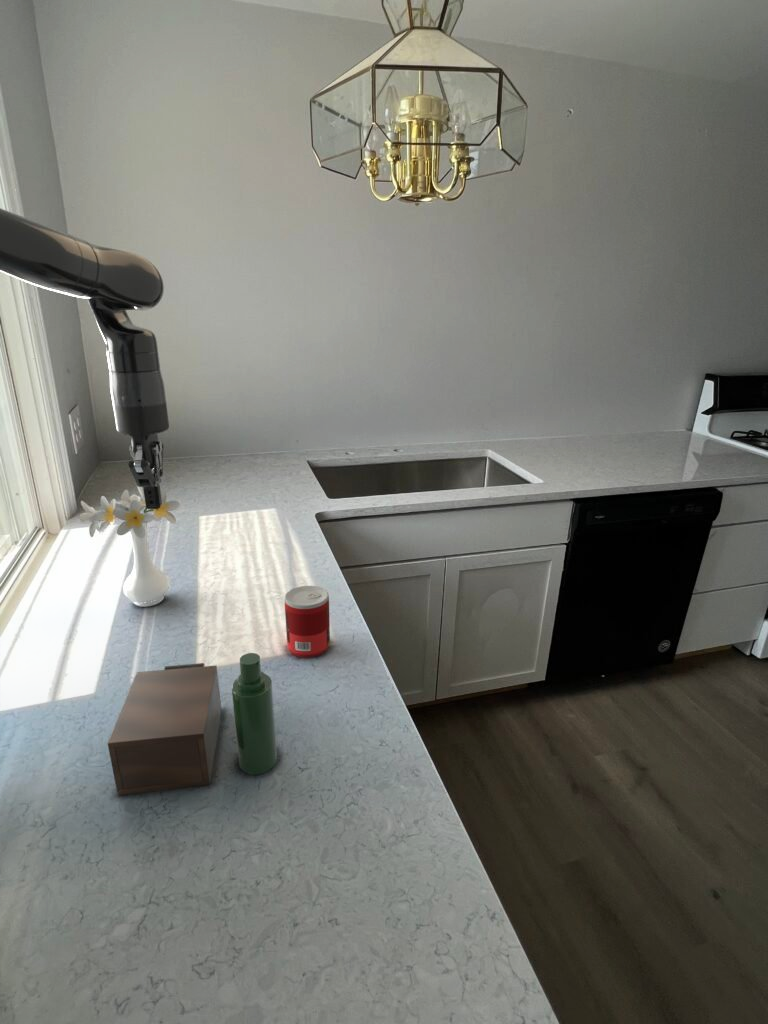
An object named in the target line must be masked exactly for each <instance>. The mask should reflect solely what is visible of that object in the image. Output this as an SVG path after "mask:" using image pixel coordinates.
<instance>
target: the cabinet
mask: <svg viewBox="0 0 768 1024" xmlns="http://www.w3.org/2000/svg"><path fill="white" fill-rule="evenodd" d="M135 672H136V671H135ZM218 673H219V672H218V666H217V665H207V666H204V667H192V668H180V669H168V670H164V669H159V670H146V671H137V672H136V673H135V674H134V678H133V680H132V682H131V685H130V687H129V689H128V692H127V695H126V697H125V700H124V702H123V704H122V707H121V709H120V712H119V714H118V716H117V719H116V722H115V724H114V726H113V729H112V731H111V734H110V736H109V738H108V741H107V748H108V753H109V758H110V763H111V767H112V773H113V779H114V782H115V787H116V792H117V796H125V795H132V794H134V795H135V794H141V793H150V792H159V791H168V790H176V789H183V788H185V789H186V788H193V787H201V786H209V785H211V781H212V773H213V768H214V761H215V755H216V748H217V743H218V737H219V736H218V735H219V731H220V723H221V719H222V718H221V717H222V713H223V712H222V701H221V692H220V691H221V690H220V682H219V674H218Z"/></svg>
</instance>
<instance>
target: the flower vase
mask: <svg viewBox="0 0 768 1024" xmlns="http://www.w3.org/2000/svg"><path fill="white" fill-rule="evenodd" d="M137 490H138V492H139V494H140V496H138V495H137V493H134V494H132V495H130V493H129V492H130V491H129V490H128V489H124V491H123V492H122V494H121V496H120V497H121V498H120V500H116V499H115V498H113V499H111V500H110V502H109V501H108V499H107V497H106V496H104V495H102V496H100V505H101V508H102V509H103V510H99V511H97V510H95V508H94V507H93V506H90V505H88V503H86V502H85V501H83V500H80V505H81V507H82V508H83V510H84V511H85V512H86V513H81V514H80V515H79V521H80V522H81V523H82V524H89V528H88V532H89V533H88V534H89V536H90V537H91V538H93V537H94V535H95V533H96V531H97V532H98V534H99V535H102V534H103V533H104V532H105V530H107V528H109V525H110V526H113V525H115V523H116V519H118V520H120V521H122V522H121V523H120V524H119V525H118V527H117V529H116V534H117V535H118V536H124V535H127V534H128V533H130V537H131V541H132V542H131V543H132V550H133V567H132V571H131V573H130V574H129V575H128V576H127V577H126V579H125V581H124V583H123V586H122V592H123V594H124V596H125V597H126V598H127V599H129V600H130V601H132V603H133V604H134V605H135V606H137V607H145V608H147V607H152V606H155V605H159V604H160V603H161V602H163V601H164V598H165V596H166V594H167V593H168V592H169V590H170V587H171V581H170V577H169V576H168V575H167V574H166V573H165V572H164V571H162V570H161V569H159V568H158V567H157V566H156V564H155V563H154V561H153V559H152V555H151V551H150V550H151V549H150V546H149V540H148V523H151V522H152V521H153V520H154V521H155V522H159V521H161V520H162V519H163V518H164V519H165V520H167V521H168V522H169V523H171V524H173V525H175V524H176V523H177V519H176V517H175V515H174V514H173V513H172V512H173V511H176V510H177V509H178V508H179V507H180V502H179V501H177V500H168V501H167V495H168V494H167V491H166V489H164V488H161V487H160V491H161V499H162V505H161V506H160V508H159V509H147V508H146V504H145V497H144V490H143V487H138V486H137ZM141 511H143V512H142V513H141ZM149 512H153V513H149ZM154 600H155V601H154ZM151 601H152V602H151ZM141 602H143V603H141ZM144 602H146V603H144Z"/></svg>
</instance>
